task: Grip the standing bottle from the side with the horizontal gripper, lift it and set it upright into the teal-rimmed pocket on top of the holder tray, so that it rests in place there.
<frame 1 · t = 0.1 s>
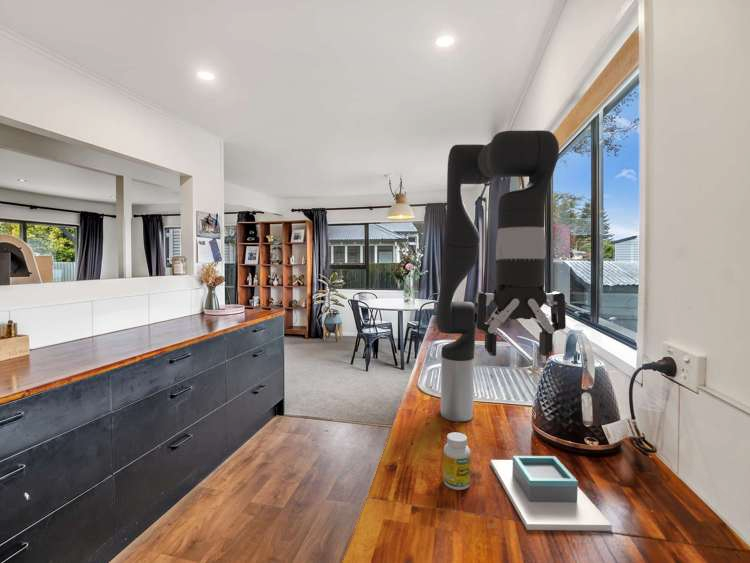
hand: (517, 354, 61), 29 cm above the countertop, tool pointing down, fingers open, 8 cm apart
supplement bottle: (456, 483, 74), on the countertop
holder tray: (542, 492, 71), on the countertop
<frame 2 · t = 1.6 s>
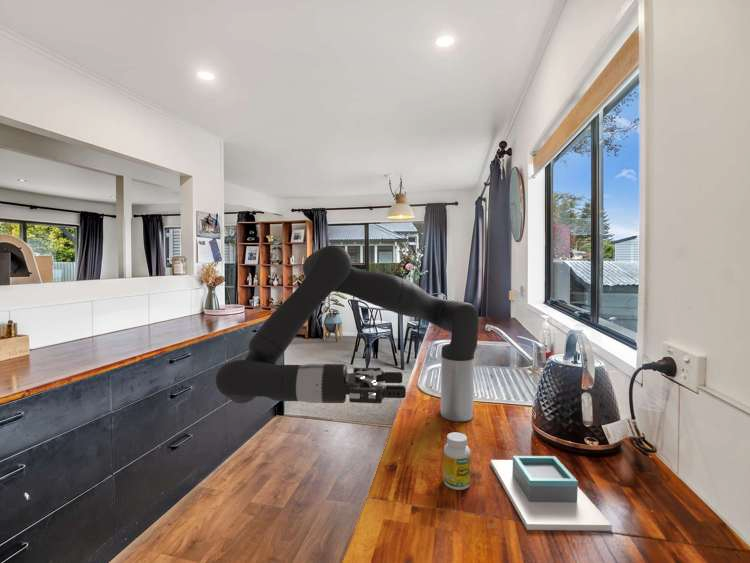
hand: (403, 384, 73), 20 cm above the countertop, tool horizontal, fingers open, 8 cm apart
nothing on the countertop moved.
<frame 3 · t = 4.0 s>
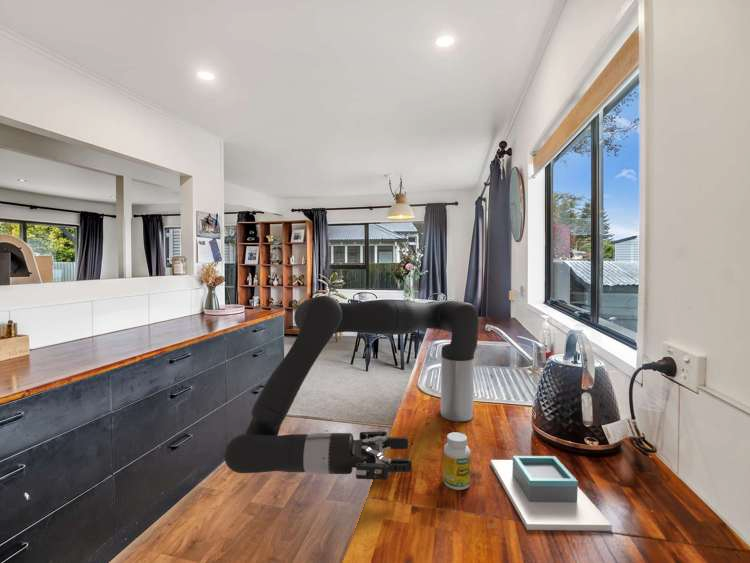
hand: (409, 453, 74), 6 cm above the countertop, tool horizontal, fingers open, 8 cm apart
nothing on the countertop moved.
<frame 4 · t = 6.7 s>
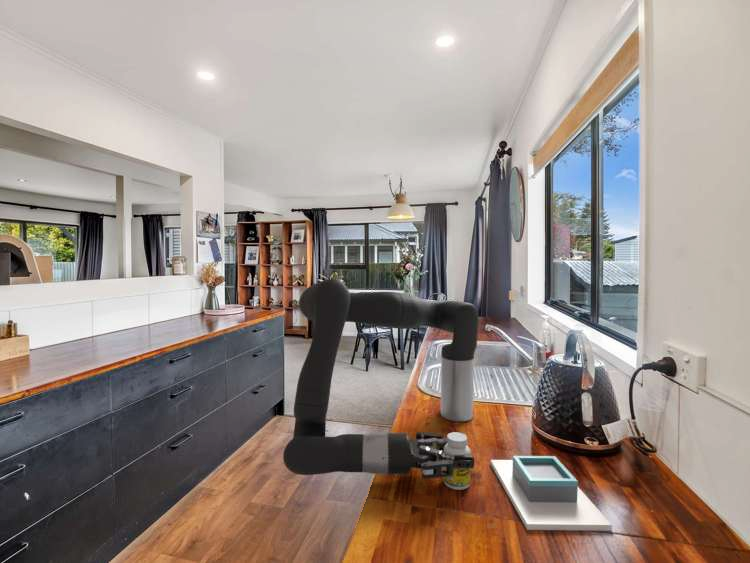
hand: (469, 453, 74), 6 cm above the countertop, tool horizontal, fingers closed on supplement bottle, 5 cm apart
supplement bottle: (456, 483, 74), on the countertop, touching gripper
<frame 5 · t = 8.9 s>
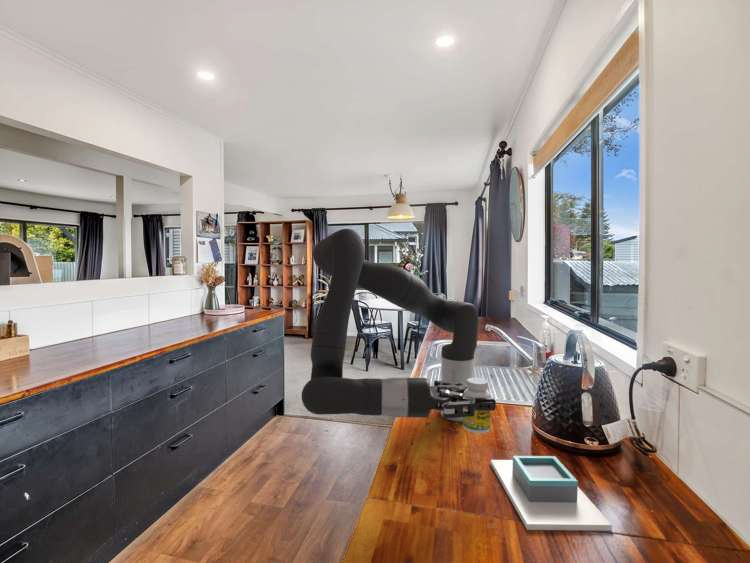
hand: (490, 398, 73), 18 cm above the countertop, tool horizontal, fingers closed on supplement bottle, 5 cm apart
supplement bottle: (476, 428, 73), point 11 cm above the countertop, touching gripper
when the fingers open (11 cm above the countertop, at t = 11.6 s): supplement bottle drops 1 cm, resting on holder tray.
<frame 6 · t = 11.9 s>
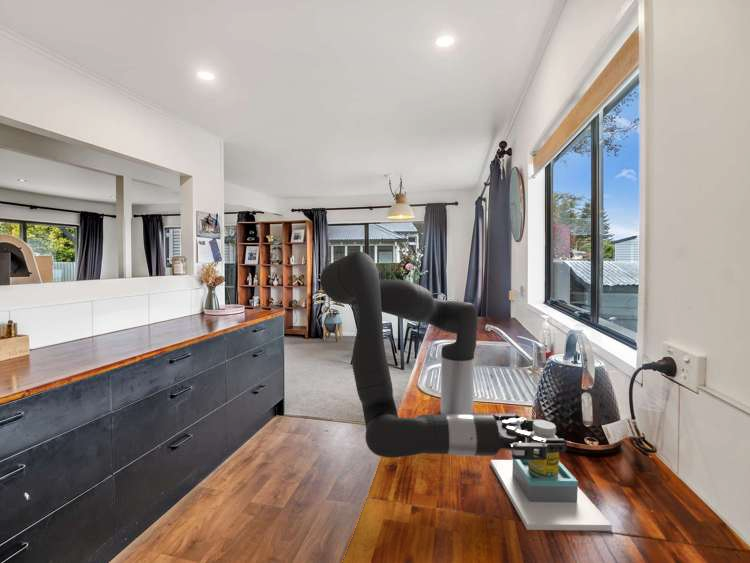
hand: (554, 434, 71), 11 cm above the countertop, tool horizontal, fingers open, 7 cm apart
supplement bottle: (542, 474, 71), point 4 cm above the countertop, touching holder tray
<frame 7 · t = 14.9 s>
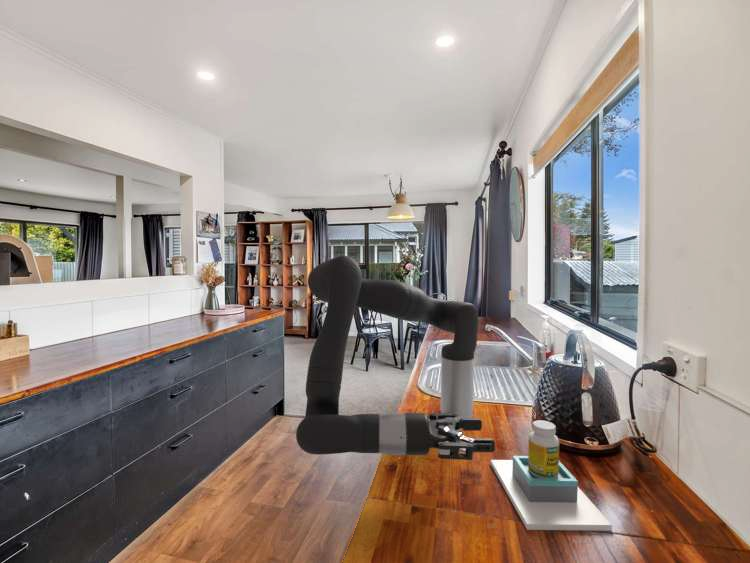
hand: (487, 434, 71), 12 cm above the countertop, tool horizontal, fingers open, 8 cm apart
nothing on the countertop moved.
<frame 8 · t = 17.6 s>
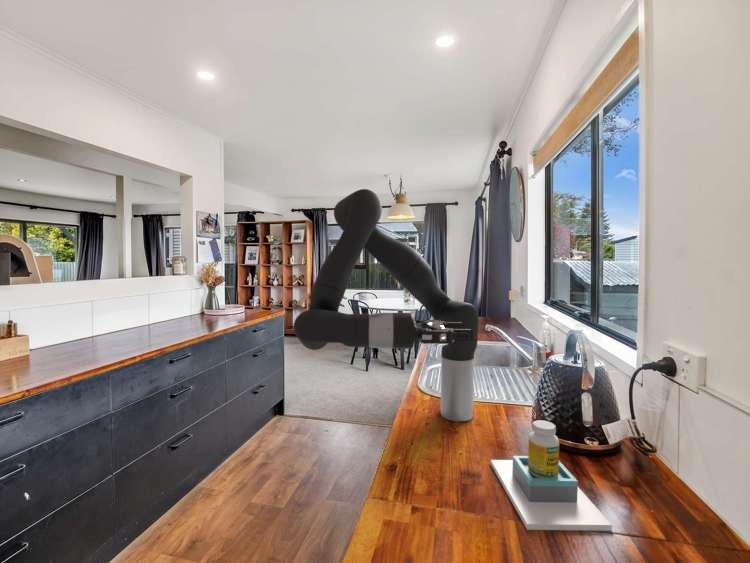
hand: (467, 331, 78), 30 cm above the countertop, tool horizontal, fingers open, 8 cm apart
nothing on the countertop moved.
at the end: supplement bottle 0.1 cm off-centre on the holder tray, point 3.8 cm above the holder tray's base; supplement bottle tilted 0°; the gripper is holding nothing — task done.
